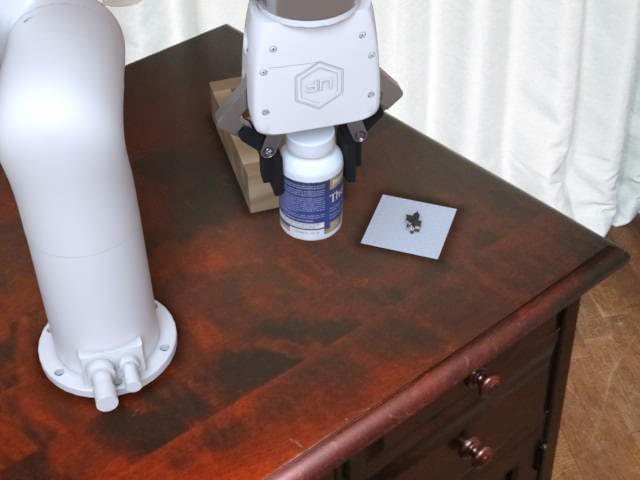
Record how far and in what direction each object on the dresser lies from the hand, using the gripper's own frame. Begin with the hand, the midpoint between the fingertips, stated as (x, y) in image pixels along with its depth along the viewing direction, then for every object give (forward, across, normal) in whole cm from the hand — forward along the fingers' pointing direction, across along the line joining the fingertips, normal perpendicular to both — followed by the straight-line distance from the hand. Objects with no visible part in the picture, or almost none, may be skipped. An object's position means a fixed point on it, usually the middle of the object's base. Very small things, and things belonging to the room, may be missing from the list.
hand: (310, 177), depth 95 cm
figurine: (+18, +13, +11) cm, 25 cm away
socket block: (+18, +3, +27) cm, 33 cm away
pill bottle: (+5, 0, 0) cm, 5 cm away
